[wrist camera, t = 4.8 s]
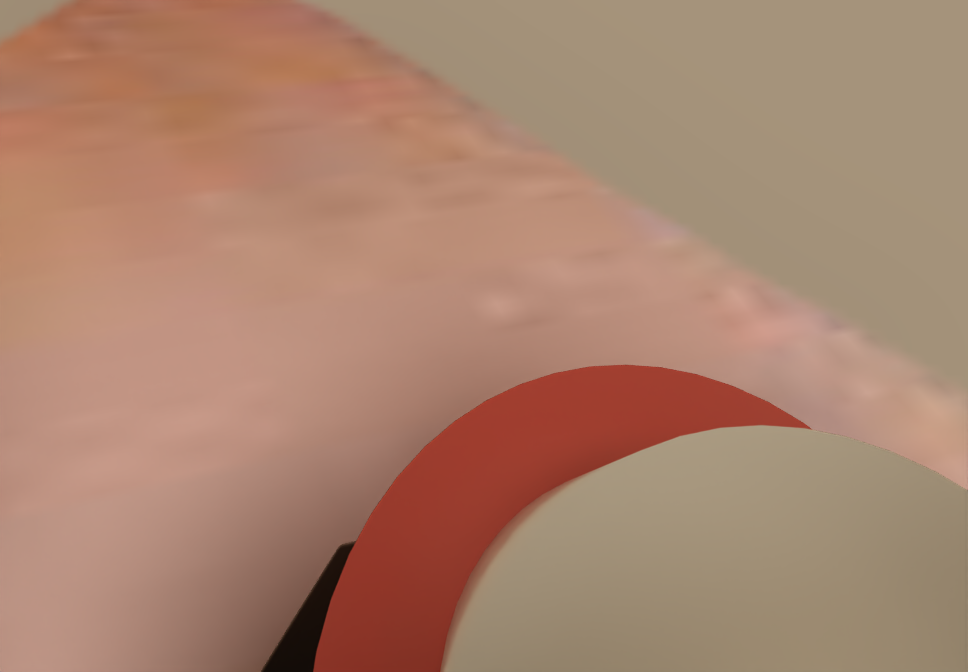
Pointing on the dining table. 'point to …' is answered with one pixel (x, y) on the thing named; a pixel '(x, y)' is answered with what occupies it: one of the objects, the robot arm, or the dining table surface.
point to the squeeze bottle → (652, 542)
